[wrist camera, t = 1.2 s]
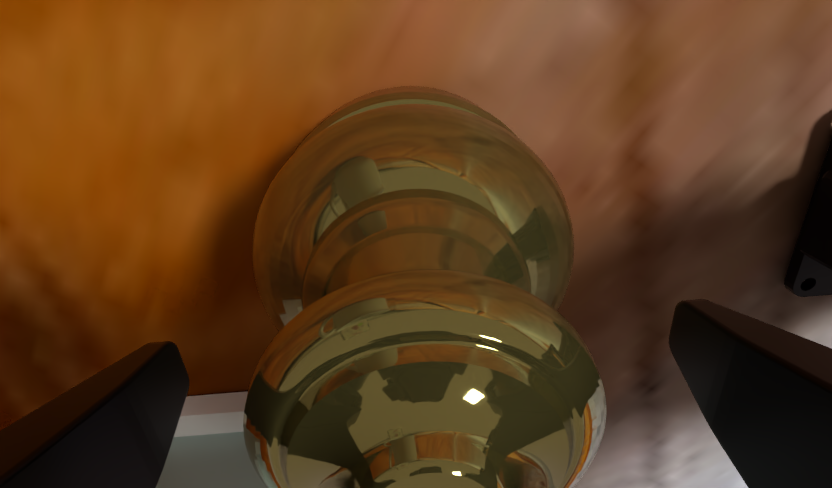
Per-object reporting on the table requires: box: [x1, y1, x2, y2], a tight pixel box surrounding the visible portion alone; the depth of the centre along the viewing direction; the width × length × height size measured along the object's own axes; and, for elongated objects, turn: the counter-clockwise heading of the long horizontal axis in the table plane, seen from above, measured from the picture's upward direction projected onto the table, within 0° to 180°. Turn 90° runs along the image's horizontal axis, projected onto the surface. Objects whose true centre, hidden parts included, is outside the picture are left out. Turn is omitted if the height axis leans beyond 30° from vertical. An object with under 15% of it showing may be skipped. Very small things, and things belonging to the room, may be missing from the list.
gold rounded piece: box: [243, 86, 606, 488], centre depth 10 cm, size 7×7×10 cm
